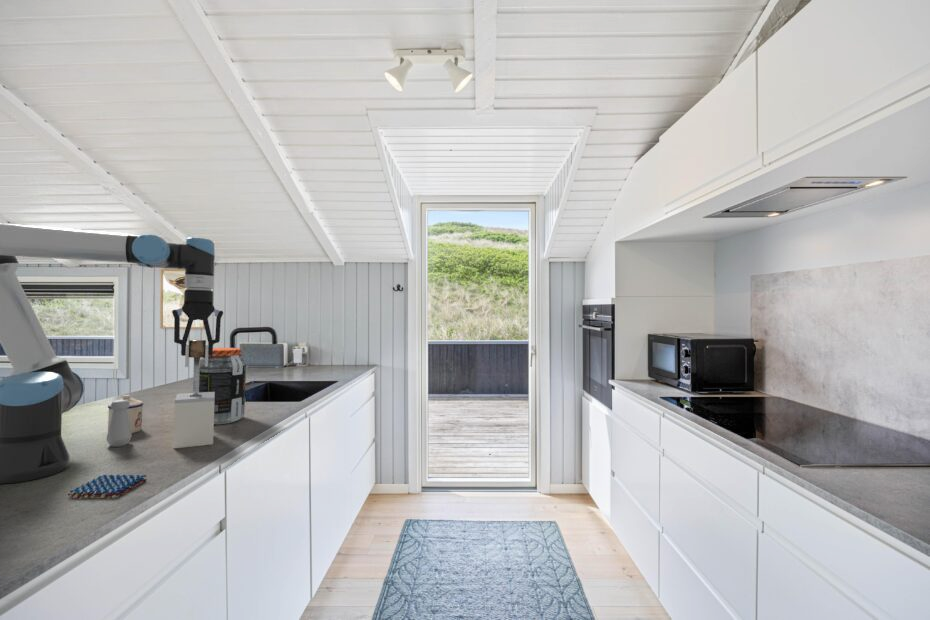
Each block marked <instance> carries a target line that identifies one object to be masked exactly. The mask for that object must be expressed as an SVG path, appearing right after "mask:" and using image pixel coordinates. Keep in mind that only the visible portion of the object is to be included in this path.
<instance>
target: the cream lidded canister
mask: <svg viewBox="0 0 930 620" xmlns="http://www.w3.org/2000/svg"><path fill="white" fill-rule="evenodd" d="M118 400H128V401H129V408H127V413H128V419H129V424H130V430H131V434H134V433H137V432H140V431H141V430H142V429H143V428H142V427H143V406H144V402H143V401H142V400H139V399H136V398H134V397H131V395H130V394H126V395H125V394H123V395H122V397H121V398H119V399H118ZM111 403H112V402H110V403H109V404H108V406H107V408H108V417H107V418H108V422H107V423H108V424H107V431H108V430H109V426H110V422H111V418H112V414H113V409H111Z"/></svg>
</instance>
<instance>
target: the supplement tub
mask: <svg viewBox="0 0 930 620" xmlns="http://www.w3.org/2000/svg"><path fill="white" fill-rule="evenodd" d="M246 364H247V363H246V361H245V360H244V358H243V355H242V348H239V347H213V354H212V355H208V366H206V367H205V357H201V358H200V375H199V393H200V392H215V401H214V425H223V424H224V425H225V424H231V423H234V422H236V421H237V422H238V421H240V420H241V419H243V418H244V417H245V416H244V415H245V407H246V405H245V404H246V402H245V401H246V376H247V375H246V374H247V373H246V371H247V365H246Z"/></svg>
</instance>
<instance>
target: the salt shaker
mask: <svg viewBox="0 0 930 620" xmlns="http://www.w3.org/2000/svg"><path fill="white" fill-rule="evenodd" d="M110 403H111V409H113V414H112V418H111V422H110V426H109V430H108V429H107V435H106V442H107V444H108V445H109V447H113V448H114V447H115V448H116V447H117V448H119V447H124V446H127V445H128V444H129V442H130V440H131V439H132V433H131V430H130V424H129V419H128V413H127V408H129V401H128V400H119V399H118V400H113V401H112V402H110ZM126 444H127V445H126Z"/></svg>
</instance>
